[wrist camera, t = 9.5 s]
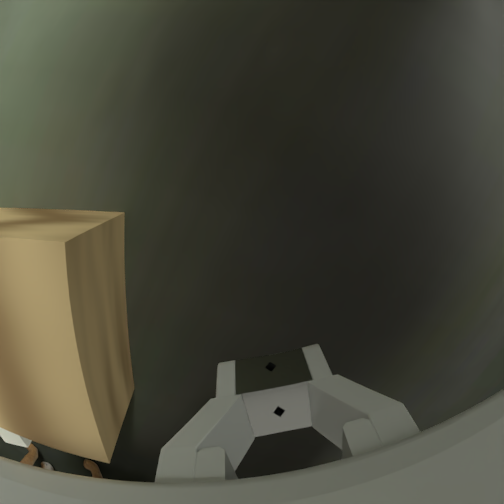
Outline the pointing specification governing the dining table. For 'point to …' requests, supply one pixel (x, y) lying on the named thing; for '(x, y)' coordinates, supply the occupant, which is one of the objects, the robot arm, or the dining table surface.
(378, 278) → the dining table surface
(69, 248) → the oak block
